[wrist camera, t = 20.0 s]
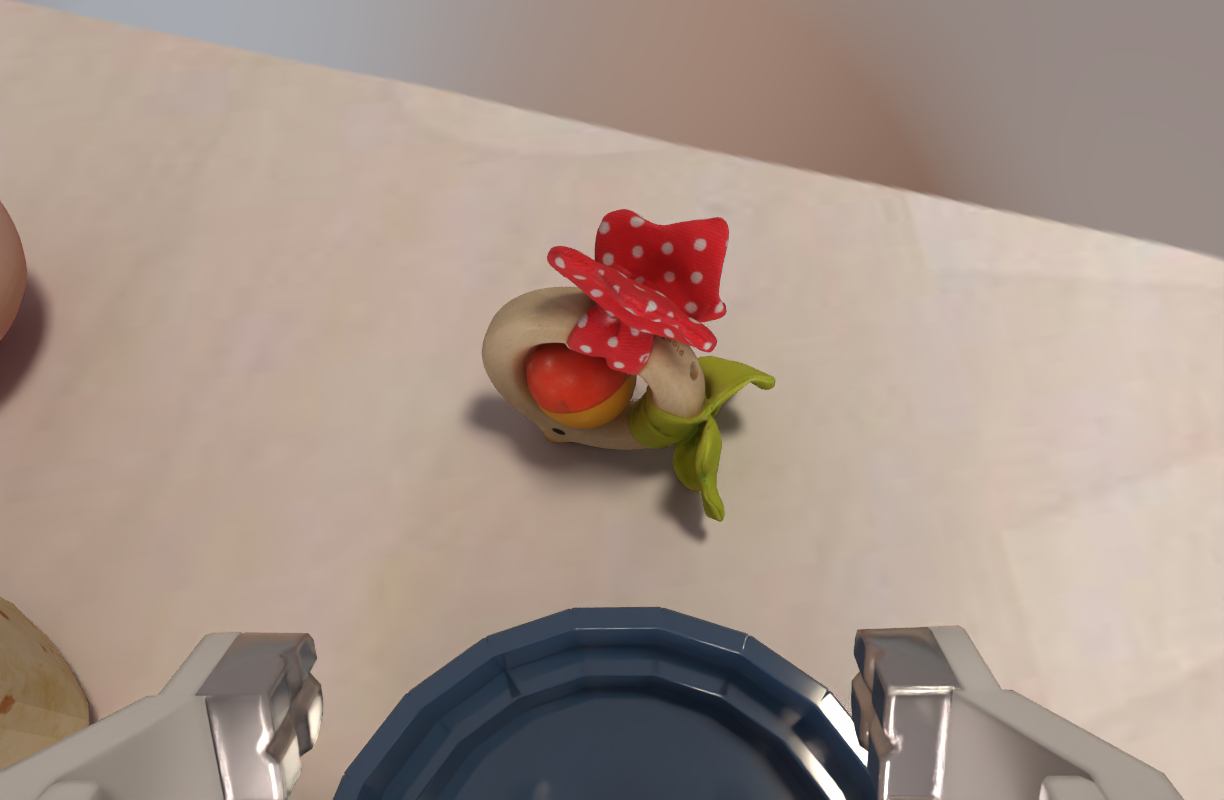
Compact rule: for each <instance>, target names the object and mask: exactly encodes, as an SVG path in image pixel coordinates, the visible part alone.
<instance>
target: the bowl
mask: <svg viewBox="0 0 1224 800" xmlns="http://www.w3.org/2000/svg"><path fill="white" fill-rule="evenodd" d="M867 756H868V752H867V751H866V750H864V749H863V748H862V747H860V746H859V743H858V740H857V737H856V734H855V729H854V724H853V720H852V717H851V716H850V714H849V713H848V712H847V711H846V709H845V708H844V707H843V706H842V704H841V703H840V702H839V701H838V700H837V698H836V697H835V696H834V695H833V693H832V692H830V691H828V689H827V688H826V687H825V686H823V685H822V684H821V683H819V682H818V681H816V680H815V679H813V678H812V677H810V676H809V675H807V674H806V673H805V672H803V671H802V670H800V669H799V668H797V667H796V666H794V665H793V664H792V663H790V662H789V661H787V660H786V659H784V658H783V657H781V656H780V655H778V654H777V653H776V652H774V651H773V650H771V649H770V648H768V647H767V646H765V645H764V644H763V643H761V642H760V641H758V640H757V639H755V638H754V637H752V636H748V634H746V633H743V632H740V631H737V630H733V629H730V628H727V627H724V626H721V625H717V624H714V623H711V622H708V621H705V620H701V619H698V618H695V617H692V616H689V615H685V614H682V613H679V612H676V611H673V610H669V609H666V608H662V609H661V607H603V608H572V609H567V610H564V611H561V612H558V613H555V614H552V615H549V616H546V617H543V618H540V619H537V620H534V621H531V622H528V623H525V624H522V625H519V626H516V627H513V628H510V629H507V630H504V631H501V632H498V633H495V634H492V635H489V636H487V637H486V638H483V639H481V640H480V641H478V642H477V643H476V644H474V645H473V646H471V647H470V648H469V649H467V650H466V651H464V652H463V653H462V654H460V655H459V656H457V657H456V658H455V659H453V660H452V661H450V662H449V663H448V664H446V665H445V666H443V667H442V668H441V669H439V670H438V671H436V672H435V673H434V674H432V675H431V676H429V677H428V678H427V679H425V680H424V681H422V682H421V683H420V684H418V685H417V686H416V687H414V688H413V689H411V690H410V691H409V692H408V694H405V695H404V697H403V698H402V699H401V701H400V702H399V703H398V704H397V706H396V707H395V708H394V710H393V711H392V712H391V713H390V715H389V716H388V717H387V718H386V720H385V721H384V722H383V724H382V725H381V726H380V727H379V729H378V730H377V731H376V733H375V734H374V735H373V736H372V738H371V739H370V740H369V741H368V743H367V744H366V745H365V747H364V748H363V749H362V750H361V752H360V753H359V754H358V756H357V757H356V758H355V759H354V761H353V762H352V763H351V764H350V766H349V767H348V768H347V770H346V771H345V773H344V774H345V775H343V776H342V779H341V781H340V784H339V786H338V788H337V791H336V793H335V796H334V798H333V800H878V798H877V795H876V793H875V790H874V787H873V784H872V781H871V778H870V775H869V773H868V770H867Z"/></svg>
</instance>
